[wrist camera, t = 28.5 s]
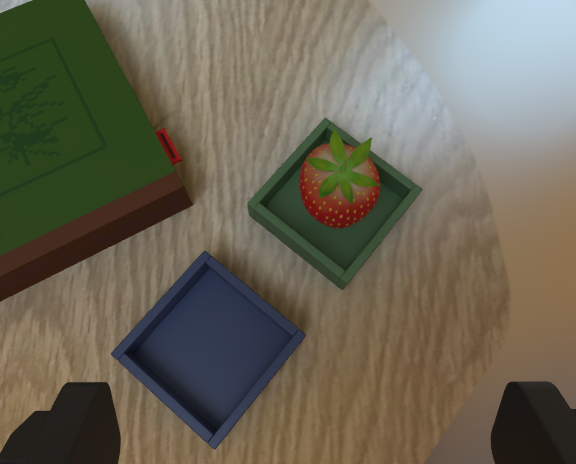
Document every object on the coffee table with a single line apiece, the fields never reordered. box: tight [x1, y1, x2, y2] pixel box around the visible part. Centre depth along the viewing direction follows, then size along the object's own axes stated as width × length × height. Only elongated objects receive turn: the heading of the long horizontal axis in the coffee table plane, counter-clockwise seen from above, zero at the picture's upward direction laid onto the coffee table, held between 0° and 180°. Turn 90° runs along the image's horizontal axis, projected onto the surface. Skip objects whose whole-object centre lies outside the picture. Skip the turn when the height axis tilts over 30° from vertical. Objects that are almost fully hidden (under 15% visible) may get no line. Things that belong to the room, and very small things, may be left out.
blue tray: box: [111, 251, 306, 449], centre depth 32 cm, size 9×9×3 cm
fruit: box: [300, 128, 380, 228], centre depth 32 cm, size 5×5×8 cm
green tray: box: [248, 118, 422, 290], centre depth 35 cm, size 9×9×3 cm
